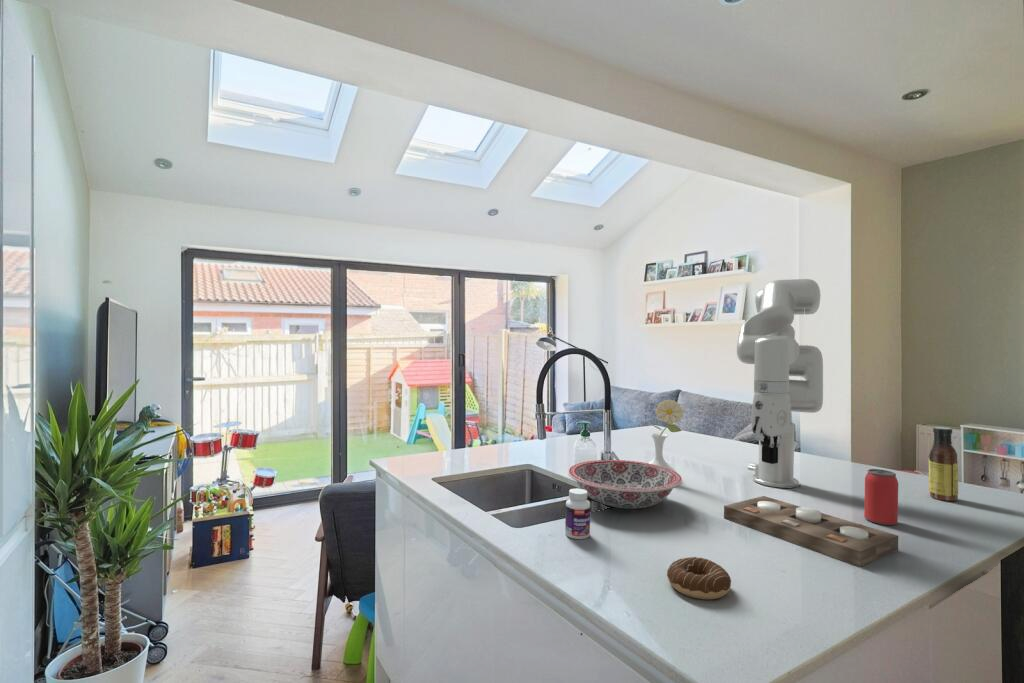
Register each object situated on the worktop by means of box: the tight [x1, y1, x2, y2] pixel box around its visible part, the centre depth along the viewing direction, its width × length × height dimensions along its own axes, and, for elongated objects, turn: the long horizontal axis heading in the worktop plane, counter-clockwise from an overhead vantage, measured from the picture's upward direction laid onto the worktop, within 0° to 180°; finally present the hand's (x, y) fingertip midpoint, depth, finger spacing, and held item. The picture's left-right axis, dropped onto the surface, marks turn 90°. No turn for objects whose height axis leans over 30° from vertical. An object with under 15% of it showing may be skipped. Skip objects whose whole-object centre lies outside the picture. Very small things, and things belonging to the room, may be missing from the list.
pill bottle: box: [564, 488, 591, 540], centre depth 111 cm, size 5×5×10 cm
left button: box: [757, 501, 780, 512], centre depth 124 cm, size 5×5×2 cm
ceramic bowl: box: [567, 459, 683, 510], centre depth 133 cm, size 29×29×8 cm
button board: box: [723, 495, 899, 568], centre depth 115 cm, size 30×16×3 cm, turn 31°
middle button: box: [796, 506, 822, 524], centre depth 115 cm, size 5×5×2 cm
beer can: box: [863, 468, 899, 526], centre depth 123 cm, size 7×7×12 cm
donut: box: [666, 556, 732, 600], centre depth 89 cm, size 11×11×4 cm
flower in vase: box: [648, 398, 685, 473], centre depth 156 cm, size 13×11×25 cm
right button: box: [840, 526, 868, 540], centre depth 107 cm, size 5×5×2 cm
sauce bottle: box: [928, 426, 959, 502], centre depth 141 cm, size 7×6×20 cm
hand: (769, 462), depth 124 cm, fingers closed
